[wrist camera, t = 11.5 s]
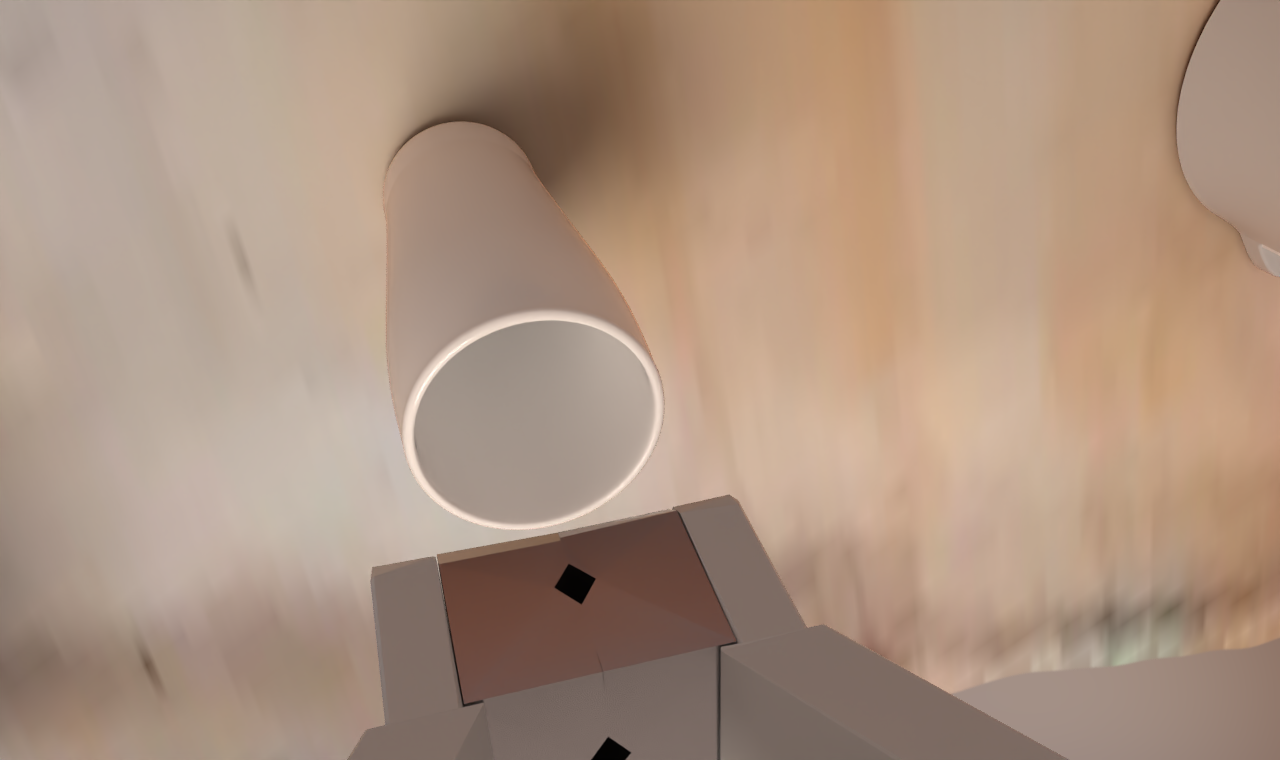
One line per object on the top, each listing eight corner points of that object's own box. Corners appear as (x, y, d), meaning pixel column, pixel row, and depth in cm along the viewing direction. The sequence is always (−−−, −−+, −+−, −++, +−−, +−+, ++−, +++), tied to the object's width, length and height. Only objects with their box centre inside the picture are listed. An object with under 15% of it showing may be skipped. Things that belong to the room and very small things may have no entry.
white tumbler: (441, 53, 38) (521, 256, 26) (591, 170, 42) (722, 395, 30) (319, 206, 40) (341, 463, 28) (473, 306, 43) (552, 571, 31)
